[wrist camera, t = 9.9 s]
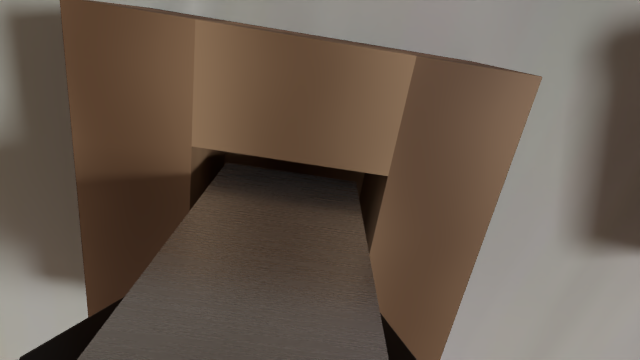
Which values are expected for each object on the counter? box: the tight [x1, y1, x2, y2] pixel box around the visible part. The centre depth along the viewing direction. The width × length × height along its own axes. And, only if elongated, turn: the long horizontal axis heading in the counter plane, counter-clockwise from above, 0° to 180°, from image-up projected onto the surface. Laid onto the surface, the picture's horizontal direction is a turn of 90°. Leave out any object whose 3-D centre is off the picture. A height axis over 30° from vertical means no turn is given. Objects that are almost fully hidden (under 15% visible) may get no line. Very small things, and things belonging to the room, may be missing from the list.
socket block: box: [60, 0, 542, 360], centre depth 14 cm, size 12×12×5 cm
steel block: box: [77, 163, 389, 360], centre depth 8 cm, size 4×4×9 cm
